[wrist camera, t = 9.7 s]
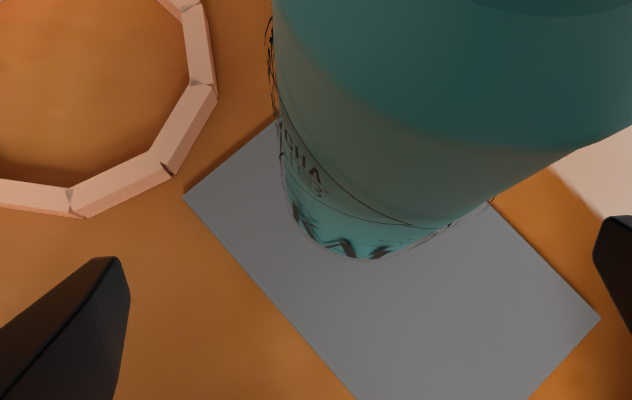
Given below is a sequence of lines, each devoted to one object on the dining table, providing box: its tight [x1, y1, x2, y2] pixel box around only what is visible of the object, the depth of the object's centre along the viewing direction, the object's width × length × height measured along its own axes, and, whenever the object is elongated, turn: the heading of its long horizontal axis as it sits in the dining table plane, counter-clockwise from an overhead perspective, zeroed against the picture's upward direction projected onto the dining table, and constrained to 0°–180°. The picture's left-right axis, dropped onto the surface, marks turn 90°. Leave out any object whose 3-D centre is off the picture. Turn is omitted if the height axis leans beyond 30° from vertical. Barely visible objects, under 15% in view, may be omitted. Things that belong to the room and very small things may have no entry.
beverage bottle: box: [264, 0, 632, 262], centre depth 12 cm, size 6×7×20 cm
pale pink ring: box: [0, 0, 219, 219], centre depth 22 cm, size 13×14×2 cm
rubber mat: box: [182, 117, 602, 400], centre depth 21 cm, size 16×10×1 cm, turn 42°
